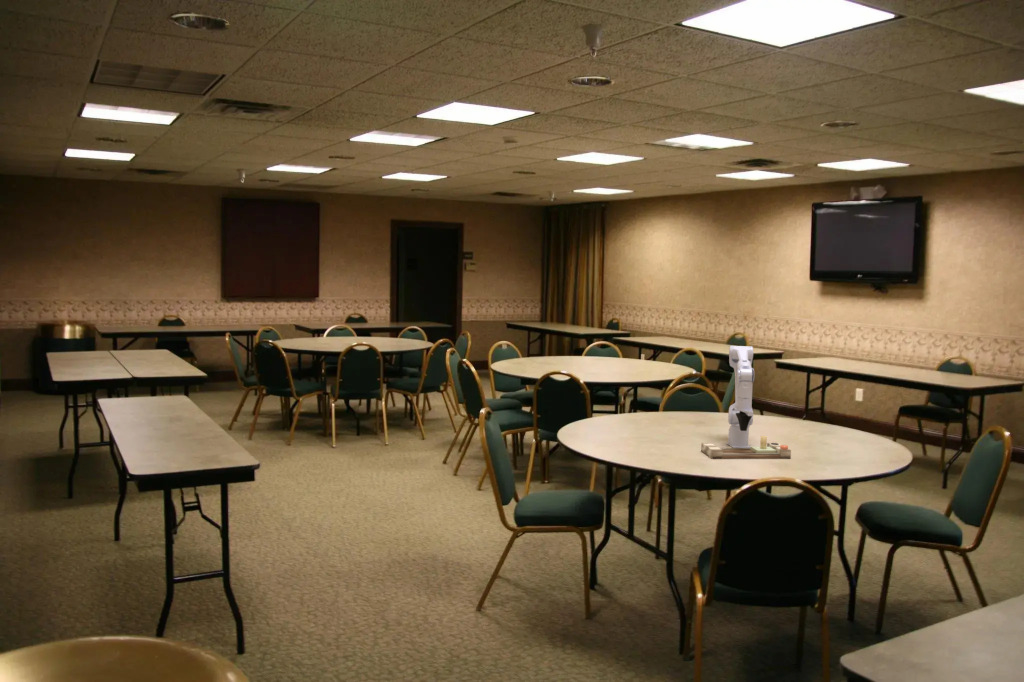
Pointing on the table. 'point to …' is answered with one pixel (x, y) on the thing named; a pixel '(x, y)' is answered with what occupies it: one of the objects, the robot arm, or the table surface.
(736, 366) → the robot arm
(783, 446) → the button
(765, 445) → the carriage
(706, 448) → the rail
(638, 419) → the table surface
